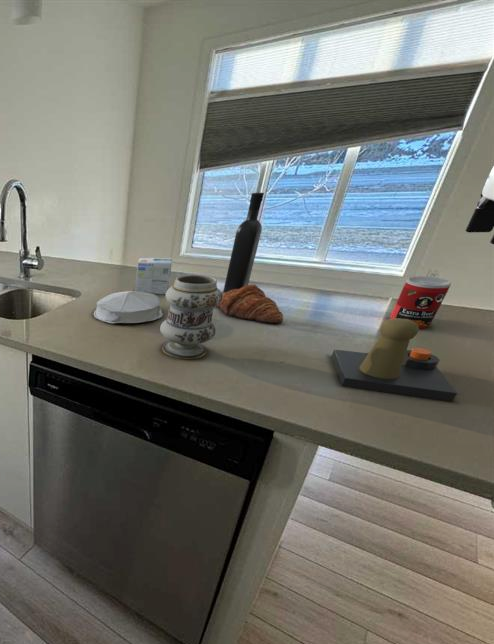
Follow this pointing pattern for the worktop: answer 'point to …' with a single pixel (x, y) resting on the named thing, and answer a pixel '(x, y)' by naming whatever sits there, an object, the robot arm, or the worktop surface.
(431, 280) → the canned food
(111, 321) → the food container
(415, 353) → the button
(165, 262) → the light bulb box
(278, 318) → the pastry
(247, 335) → the worktop surface
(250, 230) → the wine bottle
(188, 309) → the apothecary jar
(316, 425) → the worktop surface
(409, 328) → the cork
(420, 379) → the scale
